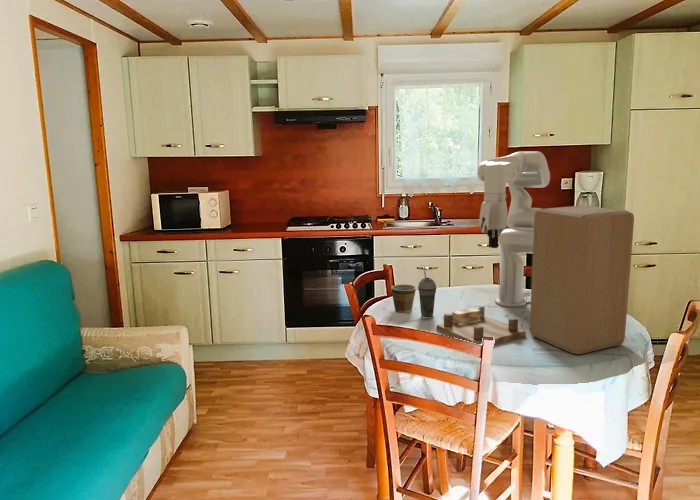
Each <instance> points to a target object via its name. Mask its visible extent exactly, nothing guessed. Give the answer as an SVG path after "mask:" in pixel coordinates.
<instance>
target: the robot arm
mask: <svg viewBox="0 0 700 500" xmlns="http://www.w3.org/2000/svg"><path fill="white" fill-rule="evenodd" d="M548 165H549V164H548V161H547V158H546V156H545V155H544V154H543V152H541V151H516V152H514V153H511V154H509V155H506V156H505V155H504V156H500V157H495V158H489V159H487V160H484V161H482V162H481V163H480V164H479V166H478V168H477V177H478V179H479V181H481V182H483V183H484V184H483V191H484V192H483V201H482V203H481V206H480V212H479V219H478V220H479V223H478V225H479V226H478V227H479V228H480V229H481V233H484V234H486V235H487V236H486V237H488V247H489V248H491V249H498V248H499V256H500V257H499V287H498V289H499V291H498V293H499V294H498V297H496V298H495V299H494V302H495V303H496V304H497V305H499V306H501V307H502V306H503V307H509V308H517V307H519V308H520V307H523V306H525V305H526V304H527V300H526V299H525V297H531V291H524V267H525V264H524V260H523V258H522V256H521V255H520V254H521V253H522V254H532V255H533V239H534V215H535V213H536V211H538V210H541V209H542V208H540V207H532V203H533V198H532V197H531V194H529V192H528V191H527V190H526V189H524V188H535V189H536V188H542V189H543V188H546V187H547V186H549V184H550V182H551V181H550V180H551V172H550V169H549V166H548ZM507 183H508V189H509V192H510V193H509V194H510V197H511V200H510V205H509V209H508V206H507V201H506V198H507V193H506V191H507V190H506V187H507V186H506V185H507ZM506 227H508V228H506Z"/></svg>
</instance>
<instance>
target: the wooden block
mask: <svg viewBox="0 0 700 500" xmlns="http://www.w3.org/2000/svg"><path fill="white" fill-rule="evenodd" d="M634 226H635V216H634V213H632V212H630V211H628V210H624V209H616V208H609V207H598V206H589V205H583V204H582V205H573V206H572V205H570V206H562V207H561V206H559V207H548V208H541V210H538V211H536V213H535V215H534V239H533V254H532V264H531V267H532V268H531V287H530V288H531V289H530V309H529V311H530V313H529V314H530V315H529V317H530V318H529V333H530V335H531V336H533V337H535V338H537V339H538V340H539V339H540V340H541V341H544V342H546V343H548V344H550V345H553V346H555V347H557V348H560V349H562V350H564V351H566V352H568V353H572V354H573V355H582V354H586V353H590V352H591V353H592V352H596V351H600V350H602V349H607V348H612V347H617V346H620V345H622V344H623V343H624V342H625V340H626V330H627V329H626V328H627V327H626V326H627V314H628V302H629V301H628V300H629V289H630V278H631V277H630V275H631V266H632V265H631V264H632V251H633V241H634V240H633V237H634V228H635V227H634Z"/></svg>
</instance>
